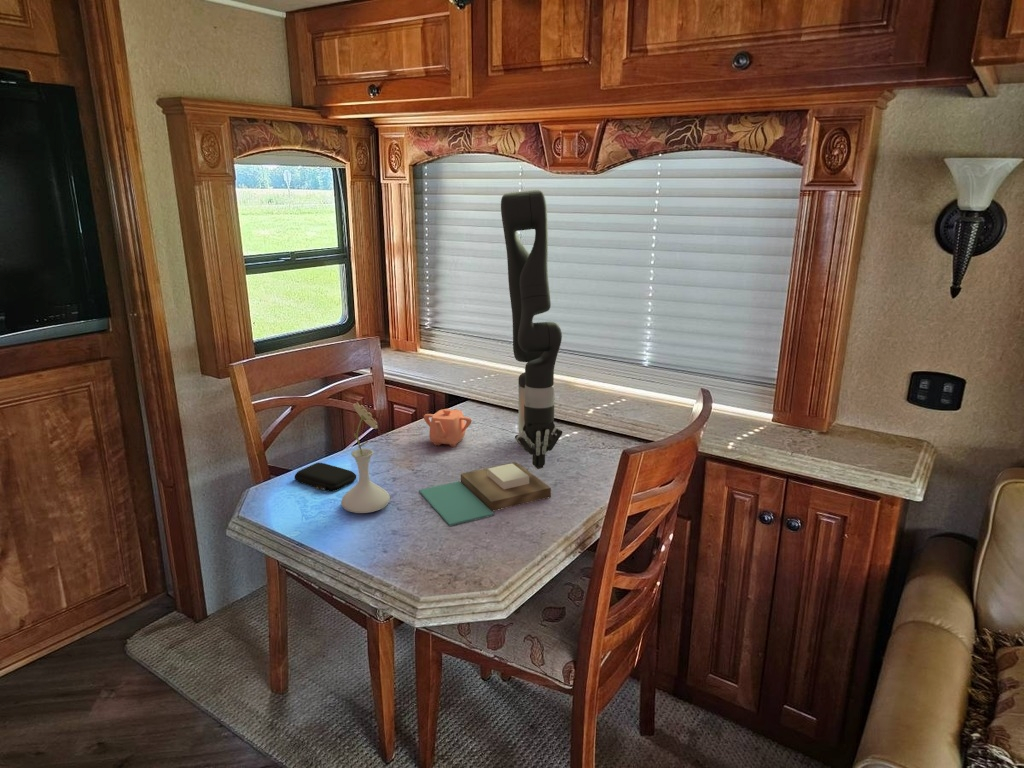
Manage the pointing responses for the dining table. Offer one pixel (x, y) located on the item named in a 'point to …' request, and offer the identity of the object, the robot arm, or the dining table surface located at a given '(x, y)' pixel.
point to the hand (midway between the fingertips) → (538, 467)
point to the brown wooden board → (502, 497)
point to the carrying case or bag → (325, 477)
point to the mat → (455, 503)
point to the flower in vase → (364, 477)
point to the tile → (508, 476)
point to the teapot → (447, 426)
